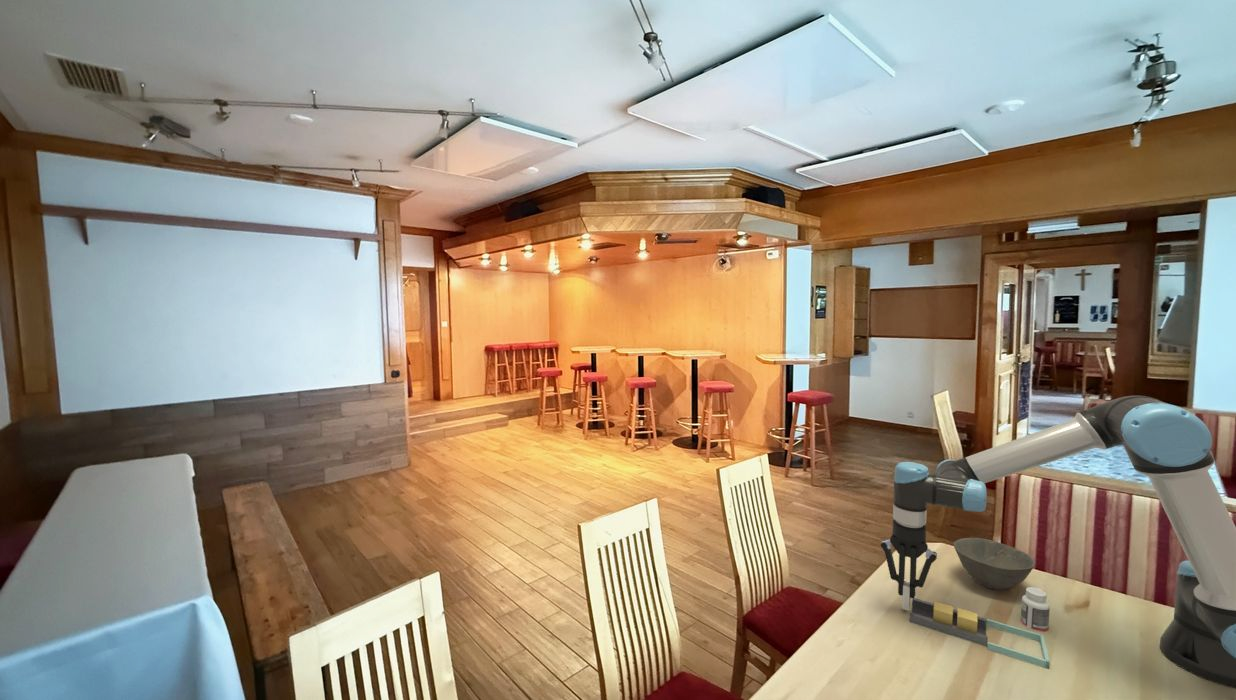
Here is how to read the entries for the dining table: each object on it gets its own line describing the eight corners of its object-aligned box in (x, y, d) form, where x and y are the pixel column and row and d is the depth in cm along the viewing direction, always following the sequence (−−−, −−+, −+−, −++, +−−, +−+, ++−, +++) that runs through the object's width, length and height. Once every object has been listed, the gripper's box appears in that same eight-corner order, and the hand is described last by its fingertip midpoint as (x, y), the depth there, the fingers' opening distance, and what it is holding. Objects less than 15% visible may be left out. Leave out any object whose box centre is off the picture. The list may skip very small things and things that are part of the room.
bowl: (1050, 597, 136) (1052, 563, 135) (999, 608, 131) (1001, 573, 130) (984, 563, 154) (986, 533, 153) (937, 572, 149) (939, 541, 148)
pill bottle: (1051, 629, 123) (1053, 593, 122) (1043, 637, 120) (1046, 600, 119) (1024, 618, 127) (1026, 583, 126) (1016, 626, 124) (1019, 589, 123)
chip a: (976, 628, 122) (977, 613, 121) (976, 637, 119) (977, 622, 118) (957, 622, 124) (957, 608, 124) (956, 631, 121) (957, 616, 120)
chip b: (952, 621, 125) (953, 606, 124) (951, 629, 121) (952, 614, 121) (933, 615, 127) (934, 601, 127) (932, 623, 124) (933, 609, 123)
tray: (1042, 644, 117) (1043, 635, 117) (1048, 673, 108) (1049, 662, 108) (985, 627, 124) (986, 618, 123) (987, 653, 115) (987, 643, 114)
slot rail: (985, 629, 123) (986, 618, 122) (987, 650, 115) (987, 638, 115) (912, 607, 132) (912, 597, 132) (909, 625, 125) (909, 614, 124)
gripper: (939, 522, 126) (935, 608, 128) (883, 511, 134) (880, 592, 136) (938, 534, 120) (934, 623, 122) (879, 521, 128) (876, 605, 130)
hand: (906, 607), depth 129 cm, fingers closed
